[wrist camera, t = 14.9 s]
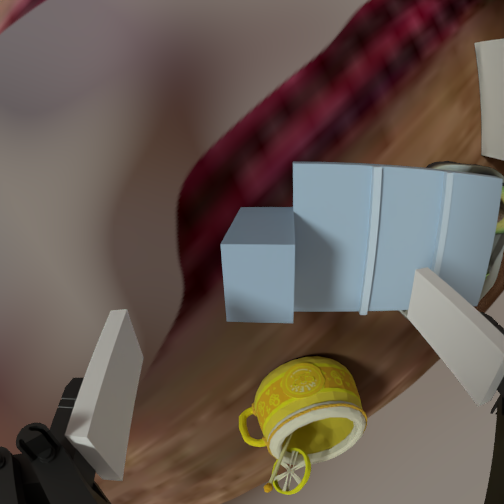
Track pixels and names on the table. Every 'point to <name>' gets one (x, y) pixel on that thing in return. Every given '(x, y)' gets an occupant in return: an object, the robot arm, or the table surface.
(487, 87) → the tub
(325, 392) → the mug
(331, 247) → the light blue l-shaped piece
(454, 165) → the salad plate
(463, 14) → the table surface
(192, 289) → the table surface
